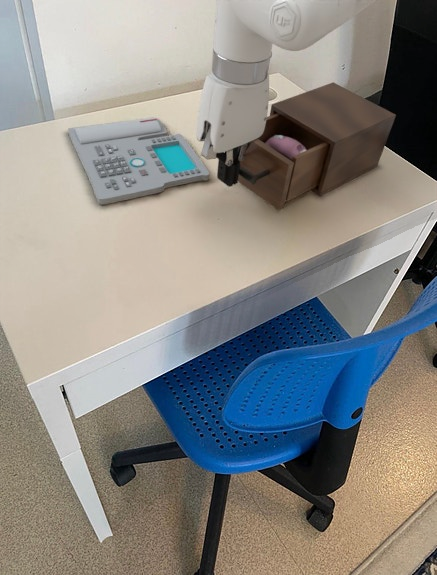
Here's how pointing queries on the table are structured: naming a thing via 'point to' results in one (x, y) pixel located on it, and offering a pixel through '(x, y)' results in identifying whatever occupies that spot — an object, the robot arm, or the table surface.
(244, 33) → the robot arm
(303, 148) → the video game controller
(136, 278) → the table surface
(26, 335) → the table surface
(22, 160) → the table surface
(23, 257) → the table surface
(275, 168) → the drawer
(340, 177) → the cabinet
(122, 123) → the office telephone
